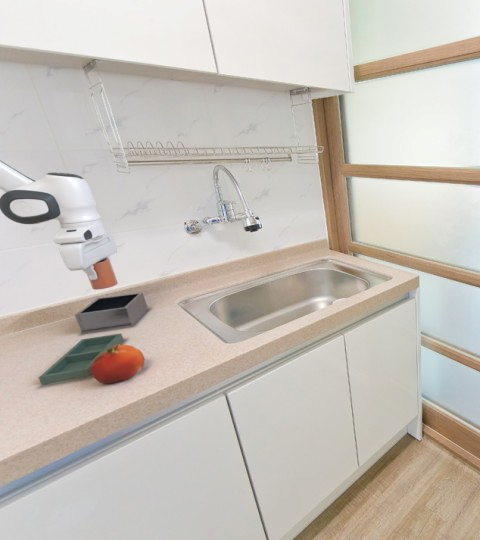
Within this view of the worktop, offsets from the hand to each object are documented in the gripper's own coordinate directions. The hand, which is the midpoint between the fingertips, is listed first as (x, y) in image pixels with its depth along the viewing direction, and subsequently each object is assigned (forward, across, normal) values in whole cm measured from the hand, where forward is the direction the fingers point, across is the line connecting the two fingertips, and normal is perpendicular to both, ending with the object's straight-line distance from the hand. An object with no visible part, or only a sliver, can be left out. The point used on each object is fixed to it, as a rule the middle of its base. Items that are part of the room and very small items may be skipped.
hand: (101, 274), depth 100 cm
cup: (+4, 0, 0) cm, 4 cm away
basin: (+16, 0, 0) cm, 16 cm away
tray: (+16, +24, +3) cm, 29 cm away
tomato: (+16, +35, +15) cm, 41 cm away
